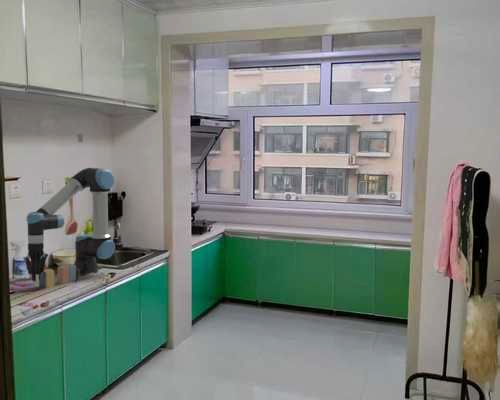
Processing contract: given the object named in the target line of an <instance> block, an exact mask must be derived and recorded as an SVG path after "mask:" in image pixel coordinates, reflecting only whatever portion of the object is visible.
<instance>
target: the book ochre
mask: <svg viewBox="0 0 500 400" xmlns="http://www.w3.org/2000/svg"><path fill="white" fill-rule="evenodd" d="M44 271H45V272H47V288H46V289H49V288H53V287H55V269H51V268H46V269H44Z"/></svg>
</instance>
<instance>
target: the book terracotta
mask: <svg viewBox="0 0 500 400" xmlns="http://www.w3.org/2000/svg"><path fill="white" fill-rule="evenodd" d="M57 283H58V284H61V285H65V284H70V283H71V282H70V267H67V266H64V265H60V266H57Z"/></svg>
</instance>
